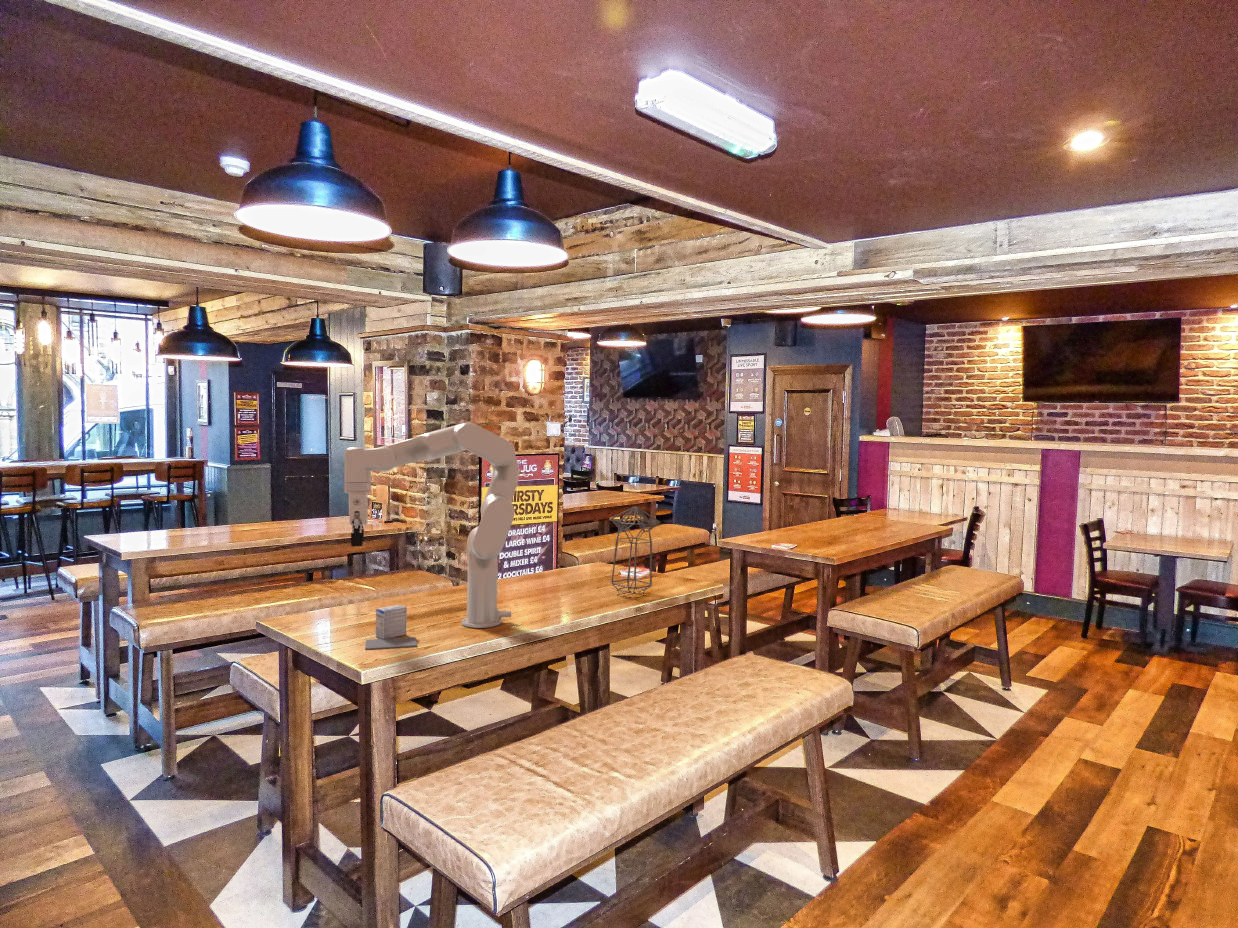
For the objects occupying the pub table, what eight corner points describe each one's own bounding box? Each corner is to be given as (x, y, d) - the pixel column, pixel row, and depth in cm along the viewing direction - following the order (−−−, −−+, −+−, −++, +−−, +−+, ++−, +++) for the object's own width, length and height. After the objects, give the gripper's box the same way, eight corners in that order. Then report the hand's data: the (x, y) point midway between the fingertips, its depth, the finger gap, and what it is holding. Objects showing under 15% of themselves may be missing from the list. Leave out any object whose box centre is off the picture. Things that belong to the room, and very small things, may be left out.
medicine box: (398, 632, 221) (398, 604, 221) (406, 635, 218) (407, 606, 218) (375, 637, 215) (375, 608, 215) (383, 640, 212) (384, 610, 212)
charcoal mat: (415, 638, 215) (415, 636, 215) (416, 646, 207) (417, 645, 207) (366, 640, 211) (366, 639, 211) (365, 649, 202) (365, 648, 202)
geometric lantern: (629, 589, 293) (634, 503, 292) (659, 597, 282) (664, 508, 281) (602, 594, 282) (606, 505, 280) (631, 602, 271) (636, 509, 269)
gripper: (369, 489, 213) (369, 547, 214) (371, 485, 229) (371, 539, 230) (342, 490, 211) (342, 548, 211) (346, 485, 227) (346, 540, 228)
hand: (357, 543), depth 221 cm, fingers open, 9 cm apart
